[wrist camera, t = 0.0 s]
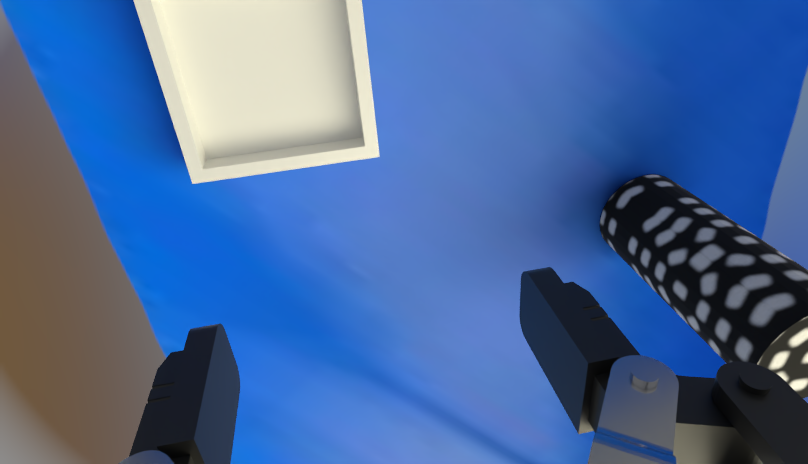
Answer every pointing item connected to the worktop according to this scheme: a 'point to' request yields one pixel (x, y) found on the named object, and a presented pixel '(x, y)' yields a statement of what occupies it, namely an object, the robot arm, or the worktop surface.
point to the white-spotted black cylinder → (714, 275)
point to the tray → (263, 83)
